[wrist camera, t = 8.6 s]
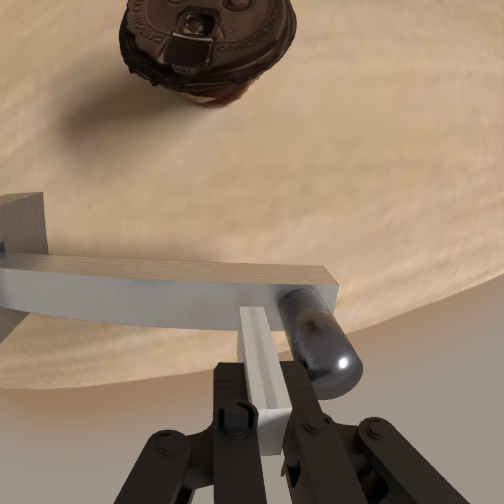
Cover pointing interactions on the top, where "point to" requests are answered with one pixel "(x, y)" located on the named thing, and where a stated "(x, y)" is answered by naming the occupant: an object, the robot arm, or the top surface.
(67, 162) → the top surface
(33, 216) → the bearing block
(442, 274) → the top surface
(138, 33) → the coffee cup
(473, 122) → the top surface
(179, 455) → the robot arm
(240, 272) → the shaft
